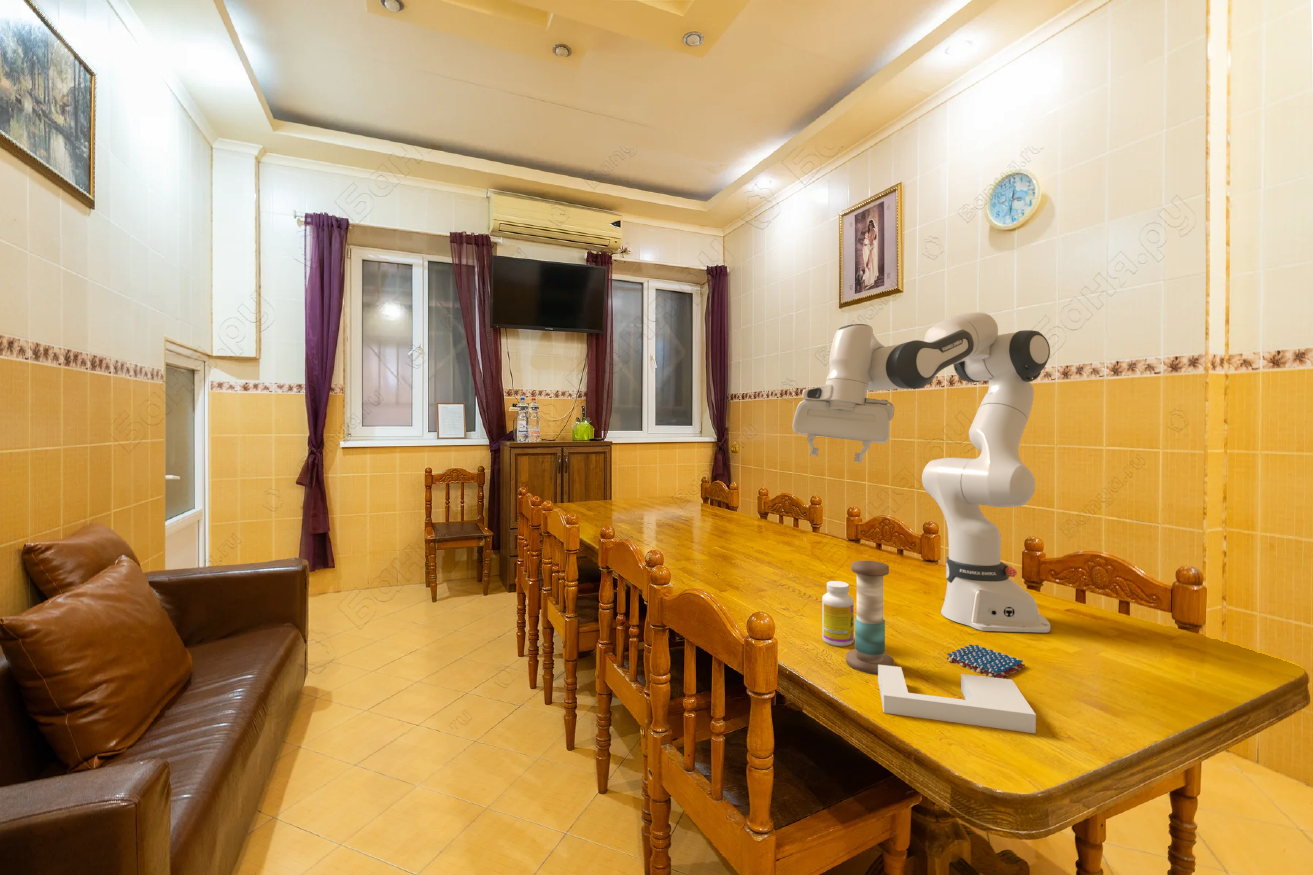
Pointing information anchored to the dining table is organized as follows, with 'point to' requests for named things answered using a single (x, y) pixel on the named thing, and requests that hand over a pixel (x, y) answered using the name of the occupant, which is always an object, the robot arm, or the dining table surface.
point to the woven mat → (986, 661)
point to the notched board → (960, 702)
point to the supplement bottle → (837, 615)
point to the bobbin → (869, 619)
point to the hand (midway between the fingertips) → (835, 458)
